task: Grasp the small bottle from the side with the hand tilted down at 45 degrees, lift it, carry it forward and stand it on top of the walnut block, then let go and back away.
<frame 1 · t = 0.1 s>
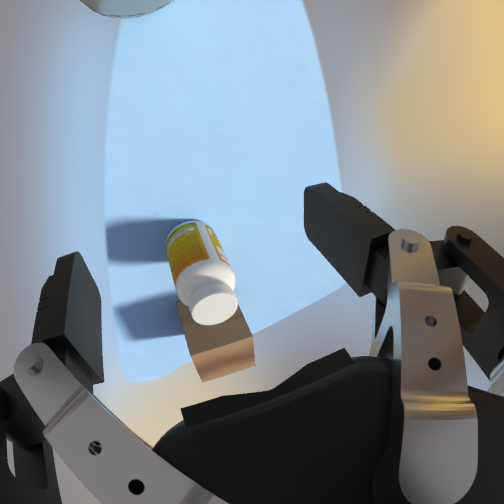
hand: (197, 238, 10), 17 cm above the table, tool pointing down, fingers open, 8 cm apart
walnut block: (207, 311, 40), on the table
supplement bottle: (189, 239, 32), on the table
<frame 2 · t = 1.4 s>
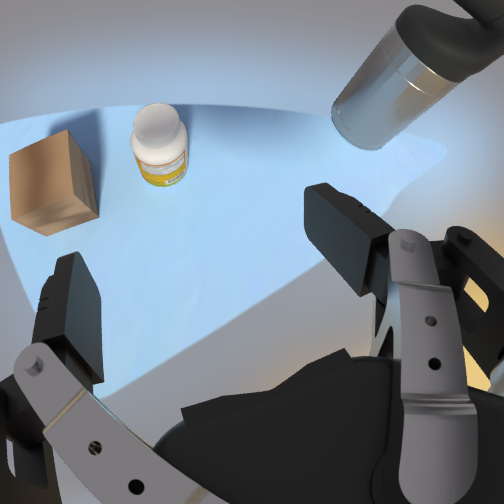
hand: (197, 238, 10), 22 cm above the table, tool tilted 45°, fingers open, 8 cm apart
walnut block: (67, 198, 30), on the table
supplement bottle: (164, 167, 33), on the table
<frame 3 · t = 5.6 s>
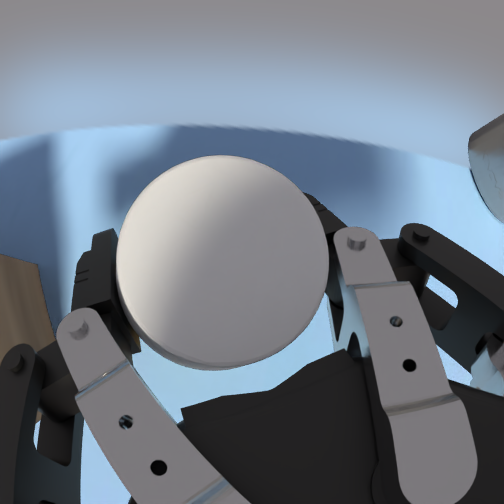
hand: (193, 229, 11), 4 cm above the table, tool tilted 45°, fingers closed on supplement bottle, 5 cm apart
walnut block: (7, 342, 12), on the table
supplement bottle: (204, 284, 15), on the table, touching gripper
when the fingers open (14 cm above the table, at t = 10.4 s): supplement bottle drops 1 cm, resting on walnut block.
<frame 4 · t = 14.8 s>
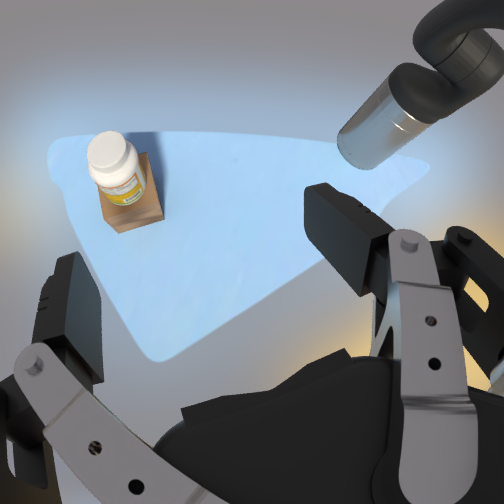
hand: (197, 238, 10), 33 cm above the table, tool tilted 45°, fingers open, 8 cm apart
walnut block: (135, 204, 42), on the table, touching supplement bottle
supplement bottle: (125, 185, 35), point 8 cm above the table, touching walnut block
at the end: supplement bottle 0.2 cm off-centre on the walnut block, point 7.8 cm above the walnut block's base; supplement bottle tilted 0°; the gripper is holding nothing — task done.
